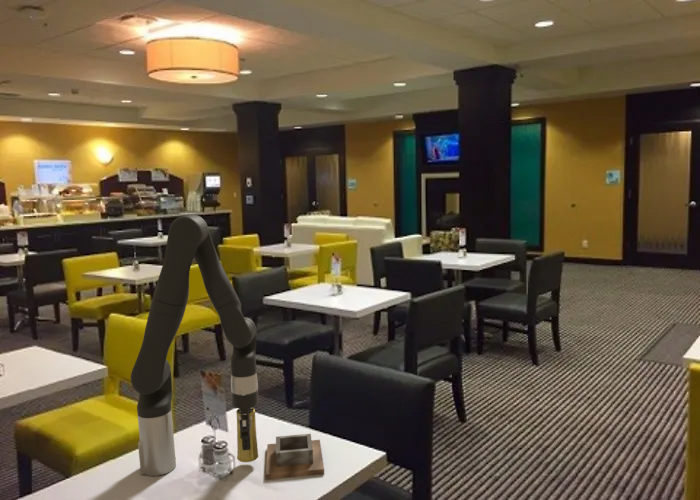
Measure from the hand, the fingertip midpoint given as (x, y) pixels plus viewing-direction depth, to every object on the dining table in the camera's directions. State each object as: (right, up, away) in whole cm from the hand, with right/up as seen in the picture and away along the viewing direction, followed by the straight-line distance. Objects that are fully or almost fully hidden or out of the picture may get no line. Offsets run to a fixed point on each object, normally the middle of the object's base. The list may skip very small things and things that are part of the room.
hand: (247, 444), depth 169 cm
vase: (0, -4, +1) cm, 4 cm away
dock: (+13, -6, +2) cm, 15 cm away
